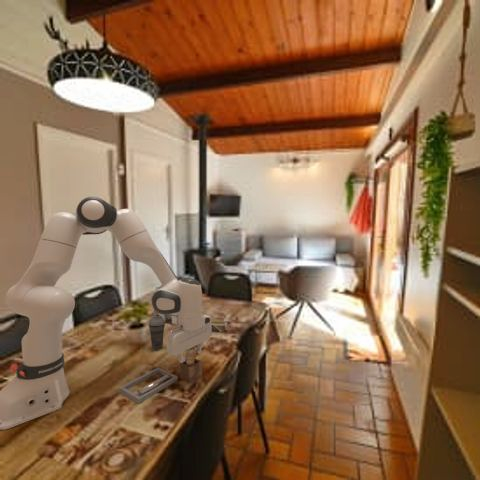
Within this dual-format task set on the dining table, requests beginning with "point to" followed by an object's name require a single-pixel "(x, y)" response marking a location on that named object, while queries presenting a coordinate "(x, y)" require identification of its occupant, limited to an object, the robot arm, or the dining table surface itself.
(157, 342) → the beverage cup
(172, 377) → the tray
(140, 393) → the metal rod
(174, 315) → the toy llama
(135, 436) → the dining table surface
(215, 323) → the platform
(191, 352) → the dowel
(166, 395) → the dining table surface
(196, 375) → the pen pot
